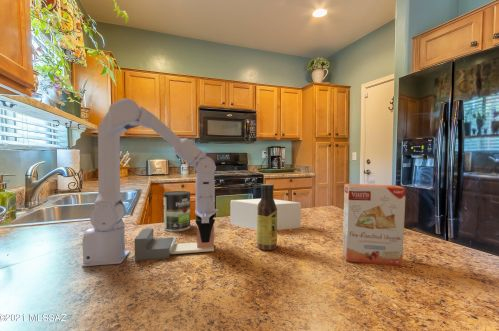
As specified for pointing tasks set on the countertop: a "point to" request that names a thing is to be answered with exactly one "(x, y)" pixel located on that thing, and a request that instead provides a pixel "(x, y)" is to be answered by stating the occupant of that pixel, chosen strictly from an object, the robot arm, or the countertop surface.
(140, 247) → the dispenser
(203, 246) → the pink and white block
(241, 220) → the white rectangular box
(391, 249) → the cracker box
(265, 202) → the sauce bottle
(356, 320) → the countertop surface
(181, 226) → the coffee can
